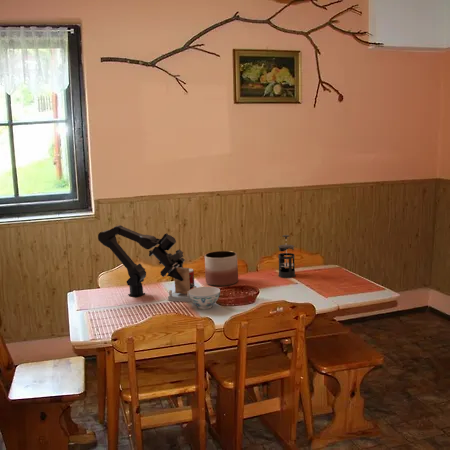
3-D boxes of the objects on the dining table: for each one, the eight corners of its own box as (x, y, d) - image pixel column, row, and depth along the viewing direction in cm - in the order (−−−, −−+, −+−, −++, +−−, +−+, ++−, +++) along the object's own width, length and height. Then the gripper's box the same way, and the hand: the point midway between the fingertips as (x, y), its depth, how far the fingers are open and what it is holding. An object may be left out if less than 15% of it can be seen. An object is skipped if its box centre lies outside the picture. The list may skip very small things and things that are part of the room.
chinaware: (224, 309, 257) (224, 293, 256) (193, 313, 253) (192, 297, 252) (216, 300, 272) (215, 284, 270) (186, 304, 268) (185, 288, 266)
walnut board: (175, 293, 276) (174, 269, 273) (179, 290, 280) (177, 267, 278) (186, 293, 274) (185, 270, 271) (190, 291, 278) (188, 267, 276)
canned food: (192, 292, 285) (191, 272, 284) (177, 292, 287) (176, 271, 285) (196, 288, 293) (195, 268, 291) (181, 288, 294) (180, 268, 293)
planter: (214, 276, 314) (213, 249, 311) (243, 279, 306) (242, 251, 304) (200, 285, 298) (198, 257, 295) (230, 288, 291) (228, 259, 288)
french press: (299, 276, 306) (298, 236, 302) (283, 279, 303) (282, 237, 299) (289, 272, 317) (288, 232, 313) (274, 274, 314) (273, 234, 310)
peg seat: (168, 300, 274) (167, 290, 274) (176, 294, 284) (175, 285, 283) (190, 301, 271) (190, 292, 270) (198, 295, 280) (197, 286, 279)
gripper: (164, 249, 265) (187, 273, 263) (180, 241, 282) (201, 263, 281) (151, 265, 269) (173, 288, 267) (167, 256, 286) (187, 278, 285)
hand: (184, 279), depth 275 cm, fingers closed on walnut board, 4 cm apart
